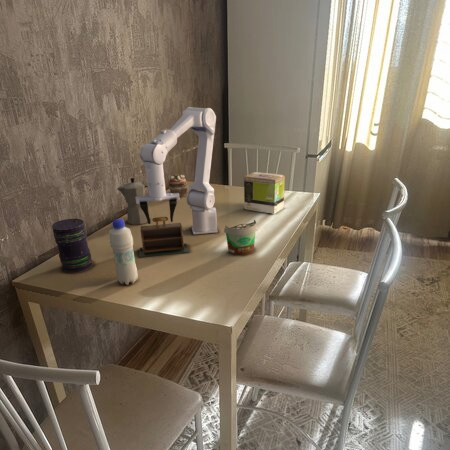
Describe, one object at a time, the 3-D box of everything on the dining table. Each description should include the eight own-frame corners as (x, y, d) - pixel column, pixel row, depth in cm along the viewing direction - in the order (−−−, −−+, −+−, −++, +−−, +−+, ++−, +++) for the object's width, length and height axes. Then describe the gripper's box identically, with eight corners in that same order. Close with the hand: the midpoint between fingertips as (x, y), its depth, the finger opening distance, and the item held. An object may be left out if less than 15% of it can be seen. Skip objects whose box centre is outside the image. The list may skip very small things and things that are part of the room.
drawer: (183, 248, 145) (180, 217, 140) (143, 252, 143) (139, 220, 139) (182, 245, 150) (179, 213, 145) (143, 248, 148) (139, 217, 143)
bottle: (118, 277, 130) (107, 216, 120) (140, 275, 131) (131, 215, 121) (115, 287, 125) (103, 224, 114) (138, 285, 125) (128, 223, 115)
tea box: (284, 208, 183) (285, 174, 176) (274, 214, 176) (275, 179, 168) (254, 203, 190) (254, 170, 183) (243, 209, 183) (243, 175, 176)
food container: (233, 259, 139) (232, 231, 134) (224, 253, 144) (223, 226, 138) (264, 252, 144) (264, 224, 138) (255, 245, 148) (255, 219, 143)
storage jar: (76, 275, 132) (65, 231, 125) (56, 269, 137) (44, 226, 129) (99, 263, 139) (90, 221, 132) (79, 257, 144) (69, 216, 136)
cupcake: (167, 197, 202) (165, 176, 197) (172, 191, 210) (170, 171, 205) (186, 197, 201) (184, 177, 196) (190, 192, 209) (189, 172, 204)
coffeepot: (125, 227, 169) (117, 183, 160) (120, 220, 176) (113, 177, 167) (161, 221, 174) (156, 177, 164) (155, 214, 181) (150, 172, 172)
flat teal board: (188, 252, 145) (188, 249, 145) (139, 257, 143) (139, 254, 142) (187, 245, 151) (186, 242, 150) (139, 249, 148) (139, 247, 148)
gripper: (133, 187, 131) (139, 227, 138) (178, 183, 133) (182, 223, 140) (133, 181, 137) (139, 220, 144) (177, 178, 139) (180, 217, 146)
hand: (160, 221), depth 143 cm, fingers open, 7 cm apart
